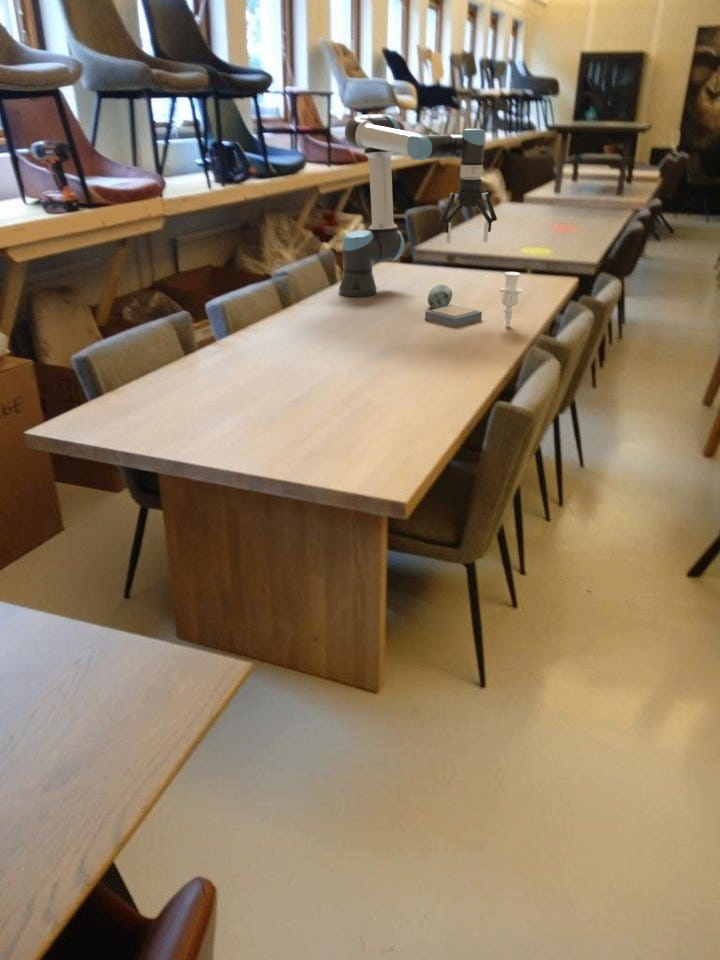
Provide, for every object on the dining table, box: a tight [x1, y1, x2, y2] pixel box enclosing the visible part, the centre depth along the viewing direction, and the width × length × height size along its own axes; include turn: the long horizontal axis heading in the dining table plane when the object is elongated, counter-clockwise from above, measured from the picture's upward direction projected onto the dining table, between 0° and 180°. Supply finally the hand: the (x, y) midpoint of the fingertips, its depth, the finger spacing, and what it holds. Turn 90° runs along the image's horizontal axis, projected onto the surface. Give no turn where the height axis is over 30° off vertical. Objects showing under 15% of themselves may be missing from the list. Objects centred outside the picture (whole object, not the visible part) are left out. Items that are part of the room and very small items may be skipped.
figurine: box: [498, 271, 523, 328], centre depth 250 cm, size 10×8×18 cm
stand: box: [424, 304, 483, 328], centre depth 262 cm, size 14×14×3 cm
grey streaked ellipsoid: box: [427, 284, 453, 310], centre depth 277 cm, size 14×10×10 cm
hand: (466, 241), depth 267 cm, fingers open, 13 cm apart
